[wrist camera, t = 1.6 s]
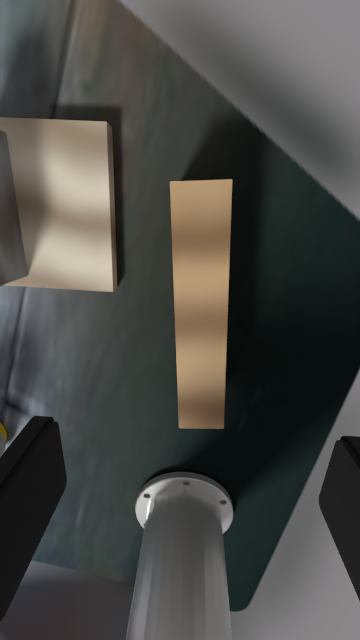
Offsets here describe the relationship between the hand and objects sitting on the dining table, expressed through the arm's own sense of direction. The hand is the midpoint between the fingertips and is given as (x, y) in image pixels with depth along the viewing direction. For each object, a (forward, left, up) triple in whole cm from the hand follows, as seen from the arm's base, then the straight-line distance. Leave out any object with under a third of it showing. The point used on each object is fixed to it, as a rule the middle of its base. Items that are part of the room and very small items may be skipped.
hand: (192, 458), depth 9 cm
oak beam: (0, -1, -19) cm, 19 cm away
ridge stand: (+7, +16, -18) cm, 26 cm away
